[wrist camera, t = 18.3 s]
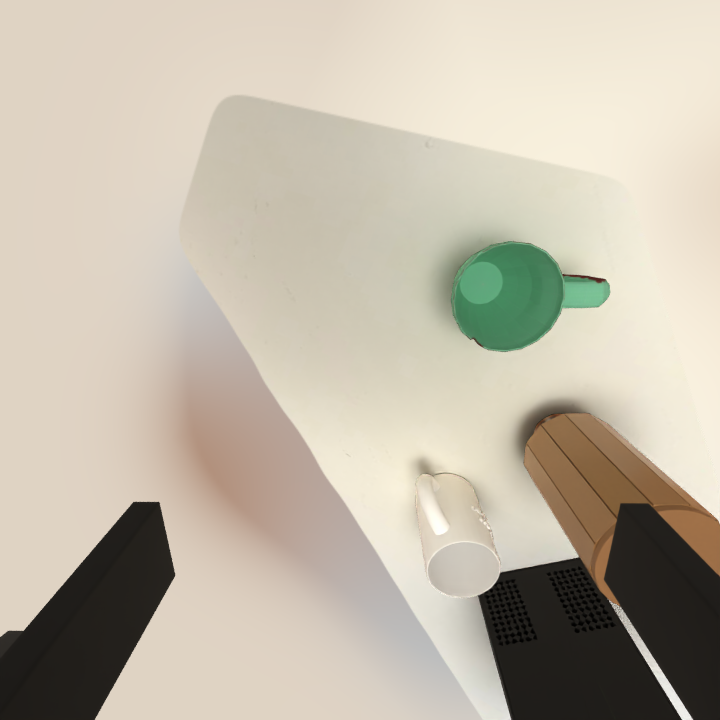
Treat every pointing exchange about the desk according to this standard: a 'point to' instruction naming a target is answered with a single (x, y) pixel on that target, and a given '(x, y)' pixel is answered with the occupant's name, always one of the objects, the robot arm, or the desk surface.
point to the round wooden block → (608, 490)
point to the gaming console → (567, 649)
